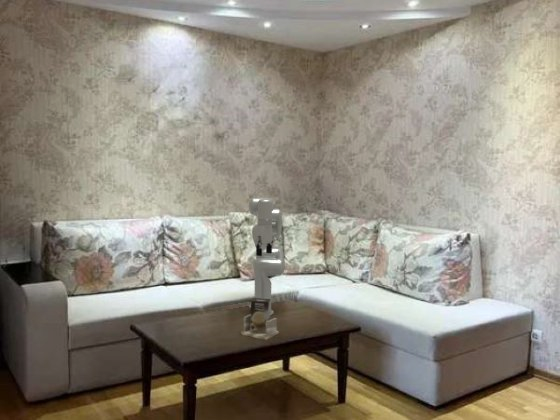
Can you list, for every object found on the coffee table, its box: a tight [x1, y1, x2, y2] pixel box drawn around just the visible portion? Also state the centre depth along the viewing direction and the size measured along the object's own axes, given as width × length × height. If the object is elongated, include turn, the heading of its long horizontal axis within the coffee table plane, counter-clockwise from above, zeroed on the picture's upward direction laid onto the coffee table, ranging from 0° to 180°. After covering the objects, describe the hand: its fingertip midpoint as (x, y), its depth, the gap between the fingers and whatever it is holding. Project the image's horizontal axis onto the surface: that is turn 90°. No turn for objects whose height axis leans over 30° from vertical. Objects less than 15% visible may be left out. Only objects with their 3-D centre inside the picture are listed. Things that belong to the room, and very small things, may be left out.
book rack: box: [240, 313, 280, 341], centre depth 252 cm, size 15×12×8 cm
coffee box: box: [250, 297, 271, 334], centre depth 252 cm, size 9×6×16 cm
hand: (264, 254), depth 270 cm, fingers open, 9 cm apart
